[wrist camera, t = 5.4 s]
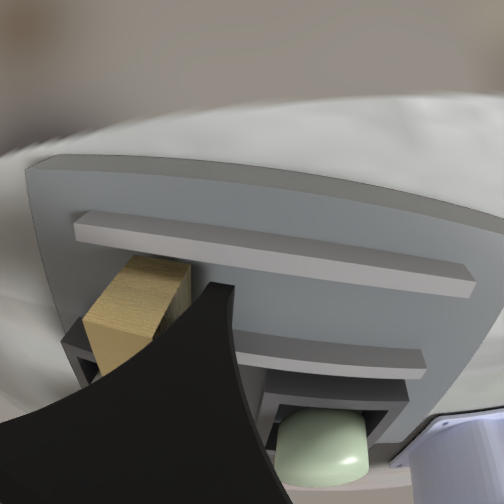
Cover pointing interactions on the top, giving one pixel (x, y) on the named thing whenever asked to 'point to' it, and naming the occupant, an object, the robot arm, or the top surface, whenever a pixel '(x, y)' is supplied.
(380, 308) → the panel
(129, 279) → the tan wooden block
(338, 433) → the sage button
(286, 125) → the top surface
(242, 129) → the top surface
